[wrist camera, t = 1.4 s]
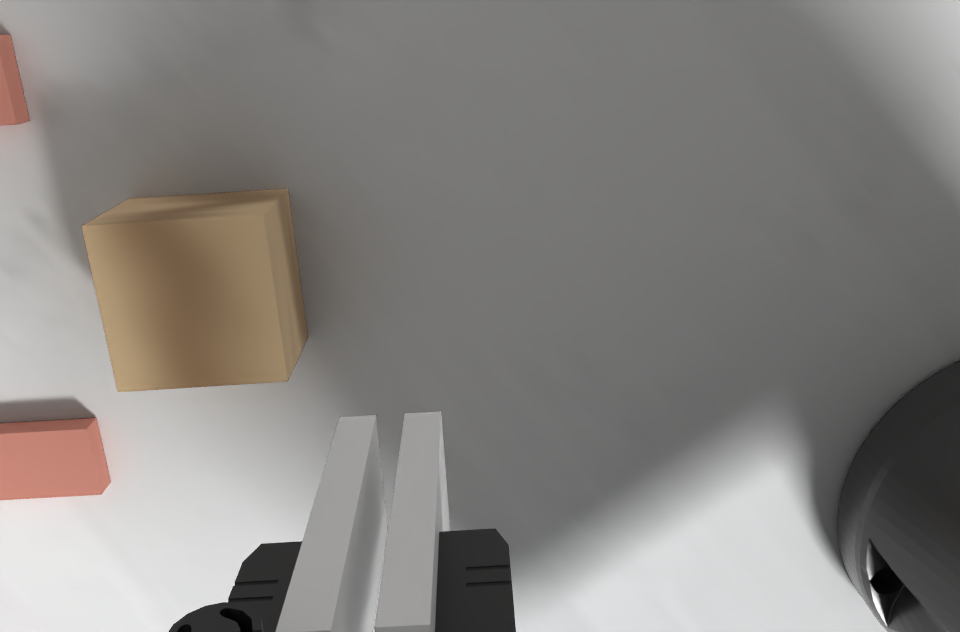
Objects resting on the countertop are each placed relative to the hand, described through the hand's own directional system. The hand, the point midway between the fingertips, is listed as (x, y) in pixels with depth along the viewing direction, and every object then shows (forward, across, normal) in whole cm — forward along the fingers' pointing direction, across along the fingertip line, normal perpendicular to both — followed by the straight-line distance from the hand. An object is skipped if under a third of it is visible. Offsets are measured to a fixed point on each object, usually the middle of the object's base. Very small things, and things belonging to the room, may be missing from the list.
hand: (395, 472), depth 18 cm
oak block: (+17, +8, 0) cm, 18 cm away
